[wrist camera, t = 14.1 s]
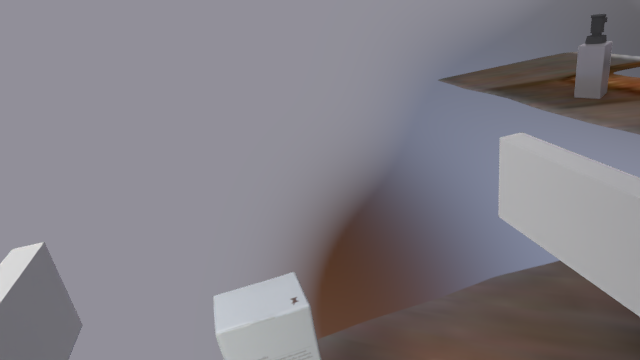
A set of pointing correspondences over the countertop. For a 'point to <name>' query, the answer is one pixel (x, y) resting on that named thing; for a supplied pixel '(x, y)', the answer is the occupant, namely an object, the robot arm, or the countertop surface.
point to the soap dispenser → (593, 62)
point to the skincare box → (266, 322)
